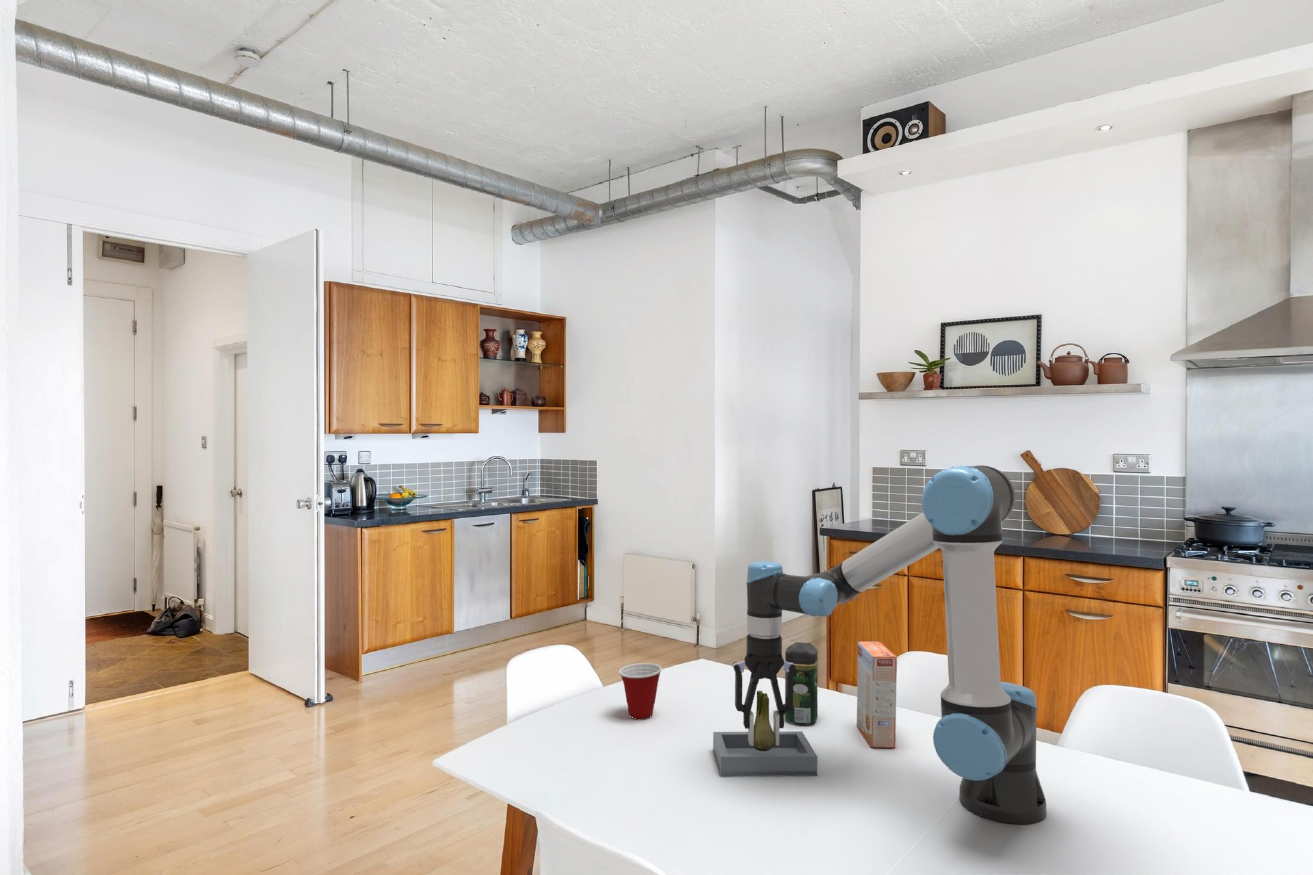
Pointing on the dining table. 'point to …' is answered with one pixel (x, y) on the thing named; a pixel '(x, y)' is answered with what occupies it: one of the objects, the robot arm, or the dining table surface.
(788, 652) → the coffee jar
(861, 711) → the cracker box
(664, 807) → the dining table surface
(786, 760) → the bin
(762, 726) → the fennel bulb
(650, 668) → the plastic cup
